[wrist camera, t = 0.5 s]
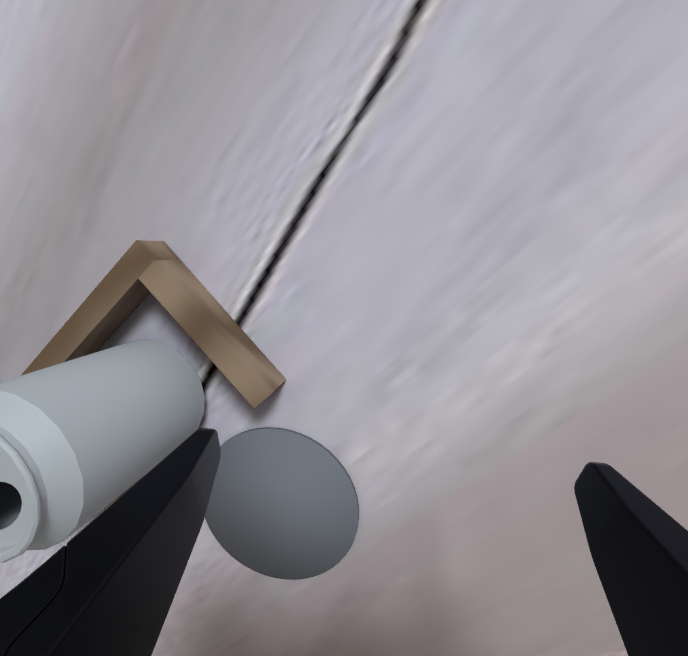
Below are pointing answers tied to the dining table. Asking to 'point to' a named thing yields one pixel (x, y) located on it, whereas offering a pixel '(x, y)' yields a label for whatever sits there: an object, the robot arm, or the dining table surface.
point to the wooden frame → (183, 305)
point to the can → (88, 436)
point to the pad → (282, 504)
